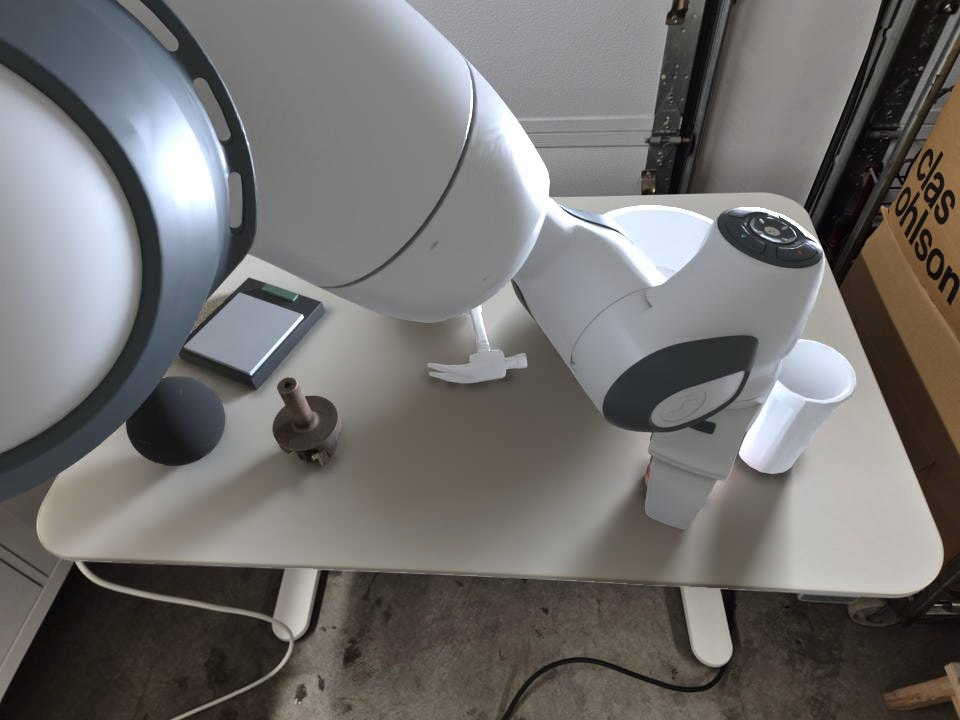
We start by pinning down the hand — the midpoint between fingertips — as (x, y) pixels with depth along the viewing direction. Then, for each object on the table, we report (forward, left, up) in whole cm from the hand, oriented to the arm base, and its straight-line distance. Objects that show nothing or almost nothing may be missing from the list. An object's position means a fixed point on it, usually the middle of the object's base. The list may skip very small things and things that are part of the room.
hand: (680, 463), depth 63 cm
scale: (-1, +57, -4) cm, 57 cm away
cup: (+8, -8, -4) cm, 12 cm away
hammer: (+16, +34, -4) cm, 38 cm away
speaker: (-18, +52, -4) cm, 55 cm away
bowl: (+25, +10, -4) cm, 27 cm away
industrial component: (-13, +38, -4) cm, 40 cm away
